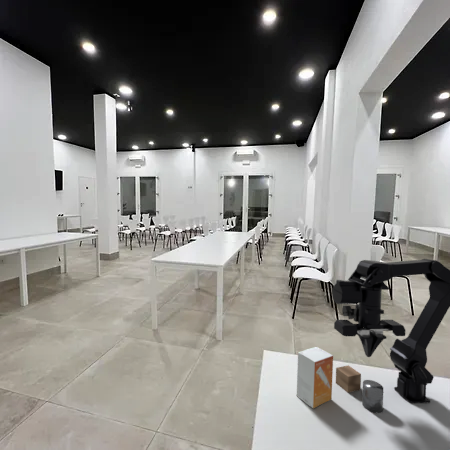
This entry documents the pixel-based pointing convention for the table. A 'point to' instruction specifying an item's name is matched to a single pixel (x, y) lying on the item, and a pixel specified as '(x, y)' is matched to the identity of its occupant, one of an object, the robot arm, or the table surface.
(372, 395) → the charcoal metal cylinder
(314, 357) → the small box
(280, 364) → the table surface
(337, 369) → the walnut block
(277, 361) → the table surface
